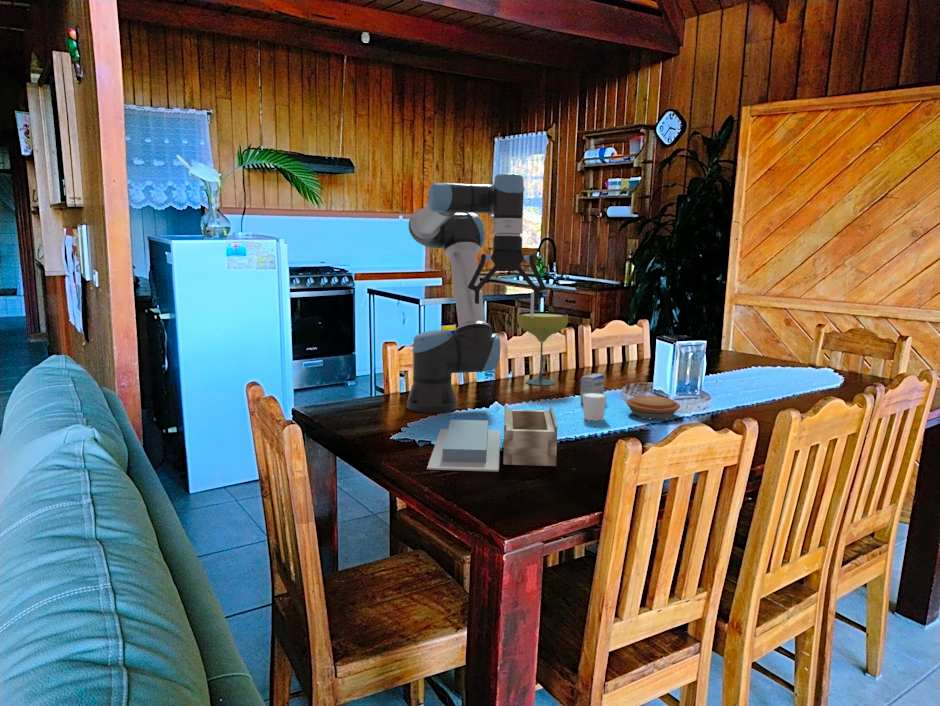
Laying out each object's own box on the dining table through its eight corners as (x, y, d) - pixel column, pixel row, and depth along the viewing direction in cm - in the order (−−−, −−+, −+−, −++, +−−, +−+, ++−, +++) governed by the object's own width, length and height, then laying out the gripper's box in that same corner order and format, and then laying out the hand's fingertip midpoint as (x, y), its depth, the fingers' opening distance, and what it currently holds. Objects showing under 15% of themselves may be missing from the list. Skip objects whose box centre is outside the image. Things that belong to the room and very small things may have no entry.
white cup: (606, 416, 201) (607, 393, 200) (604, 422, 195) (605, 398, 193) (583, 414, 203) (584, 391, 202) (580, 420, 196) (581, 396, 195)
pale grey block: (442, 461, 157) (442, 448, 157) (450, 430, 183) (450, 419, 182) (486, 462, 157) (486, 450, 156) (488, 431, 182) (488, 420, 182)
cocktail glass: (506, 380, 251) (507, 312, 247) (547, 376, 260) (549, 310, 256) (533, 390, 236) (535, 317, 232) (575, 385, 244) (578, 315, 240)
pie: (619, 409, 211) (619, 393, 210) (668, 408, 212) (669, 393, 211) (634, 422, 196) (635, 405, 195) (687, 421, 197) (688, 405, 196)
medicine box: (592, 405, 215) (593, 378, 214) (579, 403, 218) (580, 376, 216) (603, 400, 221) (604, 374, 220) (591, 398, 224) (592, 372, 222)
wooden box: (503, 464, 157) (504, 425, 155) (503, 439, 176) (504, 404, 175) (556, 466, 156) (557, 426, 155) (550, 440, 176) (551, 405, 174)
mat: (427, 469, 153) (426, 467, 153) (440, 430, 184) (440, 428, 184) (498, 471, 152) (498, 469, 152) (500, 431, 183) (500, 430, 183)
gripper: (458, 234, 175) (458, 317, 178) (557, 235, 173) (554, 319, 177) (460, 234, 182) (460, 314, 186) (555, 236, 181) (552, 316, 184)
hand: (506, 316), depth 181 cm, fingers open, 13 cm apart
